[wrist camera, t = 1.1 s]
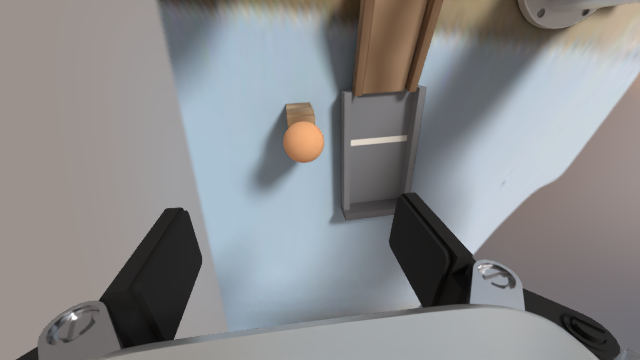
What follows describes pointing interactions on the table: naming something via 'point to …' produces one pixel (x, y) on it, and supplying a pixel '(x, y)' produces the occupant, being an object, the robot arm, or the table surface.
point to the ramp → (393, 44)
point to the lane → (378, 149)
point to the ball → (303, 142)
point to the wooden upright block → (299, 113)
